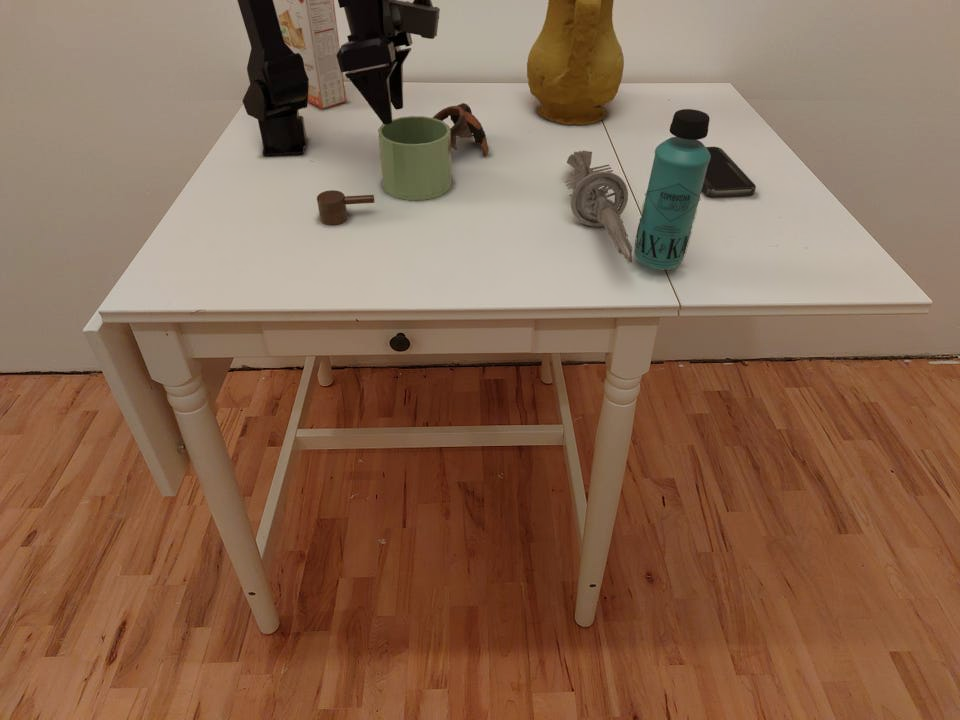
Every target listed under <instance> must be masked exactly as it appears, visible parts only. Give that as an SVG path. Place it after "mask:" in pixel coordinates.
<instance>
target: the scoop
mask: <svg viewBox="0 0 960 720" xmlns="http://www.w3.org/2000/svg"><path fill="white" fill-rule="evenodd" d="M316 202H317V209H318V213H319V219H320V220H319V221H320V222H321V223H322V224H324V225H327V226H338V225H342V224H343V223H345V222H346V221H347V220H348V210H347V205H361V204H375V195H374V194H363V195H361V194H360V195H347V196H346V195H345V194H344V193H343V192H342V191H339V190H335V189H334V190H333V189H332V190H325V191H322V192H320V193H318V195H317V196H316Z"/></svg>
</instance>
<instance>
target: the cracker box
mask: <svg viewBox="0 0 960 720" xmlns="http://www.w3.org/2000/svg"><path fill="white" fill-rule="evenodd" d="M273 2H274V6H275V10H276V13H277V17H278V21H279V24H280V28H281V32H282V35H283V39H284V42H285V43H286V44H287V46H288V47H289V48H290V49H291V50H292V51H293V52H294V53H295V54H296V53H299V54H300V55H301V57H302V58H303V63H304V68H305V71H306V74H307V76H308V79H309V81H308V82H309V92H308V103H309V104H311V105H313V106H315V107H317V108H319V109H321V110H325V109H328V108H331V107H334V106H337V105H341V104H343V103H346V102H347V96H346V95H347V94H346V88H345V79H344V72H341V71H340V67H339V63H338V60H337V56H336V55H337V53H338V51H339V49H340V48H341V45H340V39H339V38H340V37H339V30H338V23H337V22H338V21H337V14H336V7H335V0H273Z"/></svg>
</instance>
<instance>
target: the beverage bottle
mask: <svg viewBox="0 0 960 720" xmlns="http://www.w3.org/2000/svg"><path fill="white" fill-rule="evenodd" d="M710 120H711V118H710V116H709V114H708V113H706V112H704V111H702V110H698V109H694V108H683V109H679V110H677V111H675V112H674V114H673V116H672V121H671V123H670V125H669V133H670V134H671V135H673V136H672V137H670V138H666V139H665V140H663V141H662V142H661V143H659V144H658V145H657V146H656V147H655V149H654V157H653V162H652V166H651V171H650V176H649V179H648V180H649V181H648V185H647V189H646V193H645V197H644V201H643V202H642V206H641V215H640V216H639V217H640V218H639V222H638V225H637V229H636V230H637V231H636V235H635V240H634V244H633V245H634V249H633V252H634V257H635V259H636V261H638V262H639V263H640V264H642V265H643V266H645V267H648V268H651V269H655V270H671V269H675V268H676V267H679V265H681V263H682V262H683V261H684V259H685V258H686V257H685V256H686V253H687V251H688V247H689V244H690V242H689V241H691V236H692V233H693V231H692V230H693V226H694V225H695V220H696V218H697V217H696V216H697V215H698V214H697V213H698V210H699V209H698V206H699V202H700V201H701V200H702V199H701V194H702V186H703V183H704V179H705V175H706V171H707V167H708V164H709V162H710V159H711V155H710V153H709V151H708V149H707V148H706V147H707V146H705V144H704V143H703V142H702V141H700V140H703V139H704V138H707V136H708V133H709V125H710Z"/></svg>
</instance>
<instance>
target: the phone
mask: <svg viewBox="0 0 960 720" xmlns="http://www.w3.org/2000/svg"><path fill="white" fill-rule="evenodd" d="M705 147H706V148H707V149H708V151H709V153H710V155H711V159H710V162H709V164H708V167H707V171H706V175H705V179H704V183H703V186H702V190H701V192H702V193H703V194H704V196H707V197H709V198H729V197H730V198H731V197H750V196H753V195H754V194H755V191H756V189H757V185H756V184H755V183H754V181H752V179H751V178H749V176H748V175H746V173H745V172H744V171H743V170H742V169H741V168H740V167H739V166H738V165H737V164H736V163H735V162H734V160H733V159H732V158H731V157H730V156H729V155H728V154H727V153H726V152H725V150H723V149H722V148H721V147H719V146H705Z"/></svg>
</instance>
